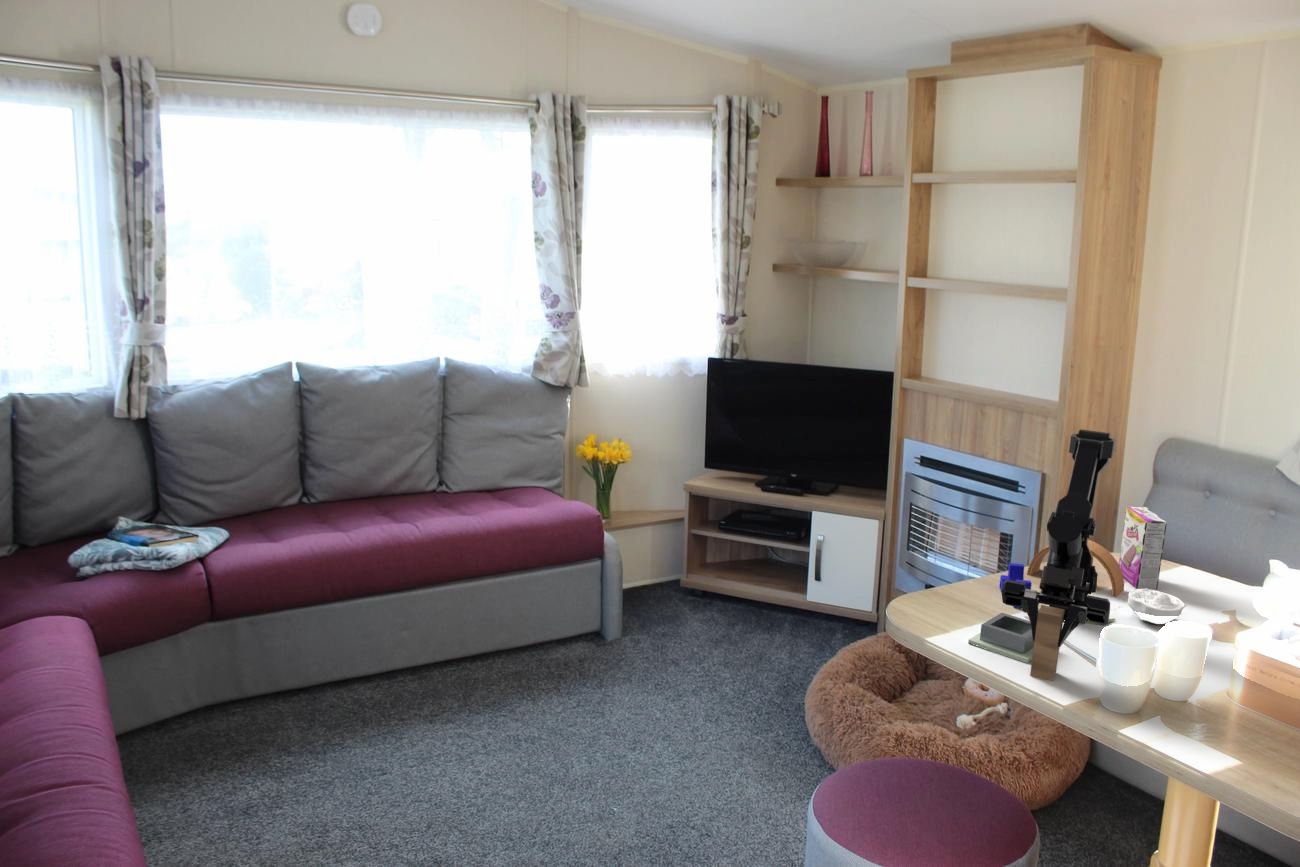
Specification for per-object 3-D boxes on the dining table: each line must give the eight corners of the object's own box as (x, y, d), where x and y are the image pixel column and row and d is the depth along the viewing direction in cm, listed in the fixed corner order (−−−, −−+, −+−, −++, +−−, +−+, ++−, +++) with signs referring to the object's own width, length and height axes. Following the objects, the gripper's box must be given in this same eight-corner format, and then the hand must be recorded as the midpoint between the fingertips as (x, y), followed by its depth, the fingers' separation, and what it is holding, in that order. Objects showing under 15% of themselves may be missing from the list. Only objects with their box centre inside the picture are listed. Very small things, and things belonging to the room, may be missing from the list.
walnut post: (1033, 667, 205) (1041, 604, 202) (1056, 672, 203) (1064, 609, 200) (1030, 675, 201) (1038, 611, 198) (1052, 680, 199) (1061, 616, 196)
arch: (1035, 568, 258) (1040, 528, 256) (1124, 591, 246) (1130, 548, 243) (1026, 575, 254) (1031, 533, 251) (1115, 598, 241) (1121, 555, 239)
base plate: (995, 626, 223) (996, 622, 223) (1053, 645, 215) (1054, 641, 215) (968, 643, 214) (968, 639, 214) (1027, 663, 206) (1027, 659, 206)
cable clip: (999, 587, 245) (1002, 562, 244) (1020, 589, 244) (1023, 564, 243) (1006, 607, 234) (1009, 581, 232) (1028, 609, 233) (1031, 583, 231)
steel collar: (1000, 627, 220) (1001, 612, 220) (1043, 640, 215) (1045, 625, 214) (979, 639, 214) (981, 624, 213) (1023, 654, 208) (1025, 638, 207)
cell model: (1160, 609, 235) (1165, 580, 234) (1191, 632, 224) (1196, 601, 222) (1115, 609, 235) (1119, 579, 233) (1143, 632, 223) (1148, 601, 221)
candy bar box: (1115, 572, 257) (1125, 505, 253) (1137, 573, 257) (1147, 506, 253) (1135, 590, 246) (1146, 520, 242) (1158, 591, 246) (1168, 521, 242)
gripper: (1009, 538, 204) (991, 613, 197) (1116, 557, 196) (1102, 636, 189) (1011, 566, 213) (994, 638, 206) (1115, 585, 204) (1100, 662, 197)
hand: (1046, 643), depth 199 cm, fingers closed on walnut post, 4 cm apart
